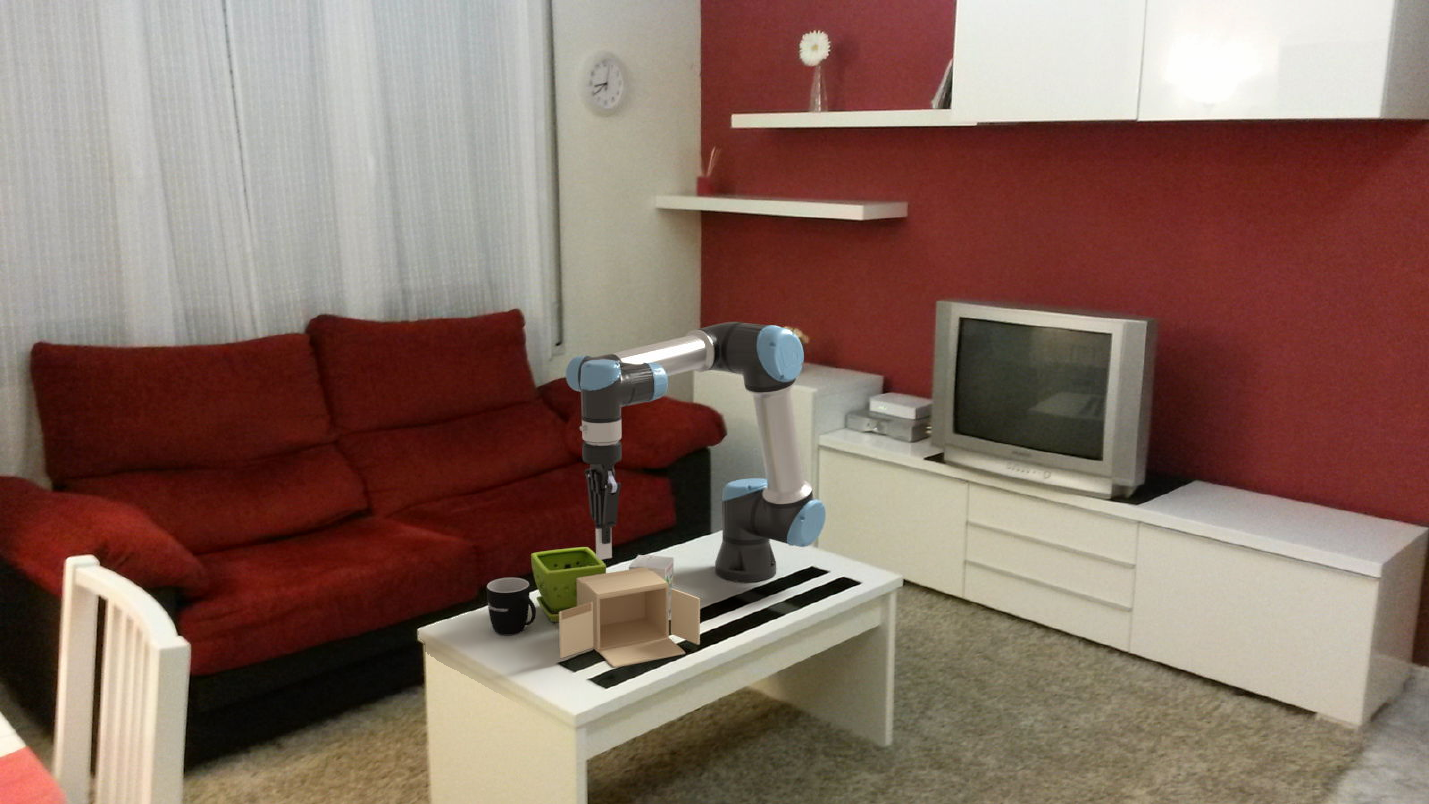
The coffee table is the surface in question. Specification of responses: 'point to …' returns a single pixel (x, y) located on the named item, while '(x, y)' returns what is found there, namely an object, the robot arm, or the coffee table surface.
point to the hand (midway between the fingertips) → (604, 557)
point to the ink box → (657, 568)
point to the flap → (576, 629)
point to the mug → (509, 605)
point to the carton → (637, 616)
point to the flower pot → (562, 577)
